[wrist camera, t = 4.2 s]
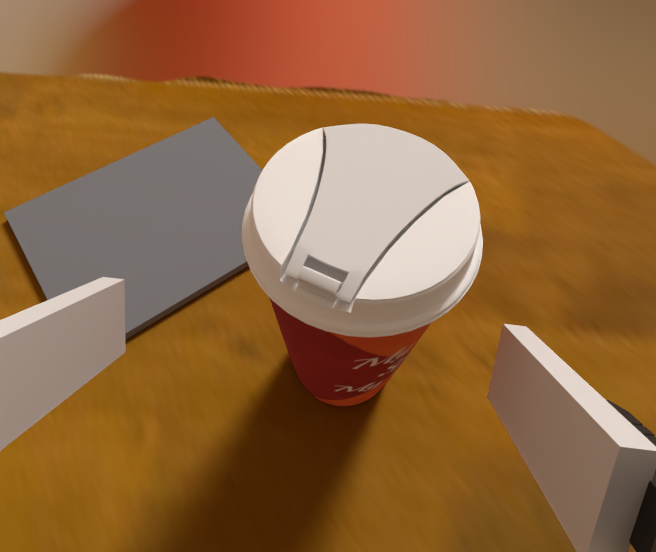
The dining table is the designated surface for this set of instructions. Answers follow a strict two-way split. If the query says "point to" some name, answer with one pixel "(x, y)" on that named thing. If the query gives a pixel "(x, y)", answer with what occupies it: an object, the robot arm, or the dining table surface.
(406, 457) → the dining table surface
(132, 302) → the mat
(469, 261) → the paper cup
